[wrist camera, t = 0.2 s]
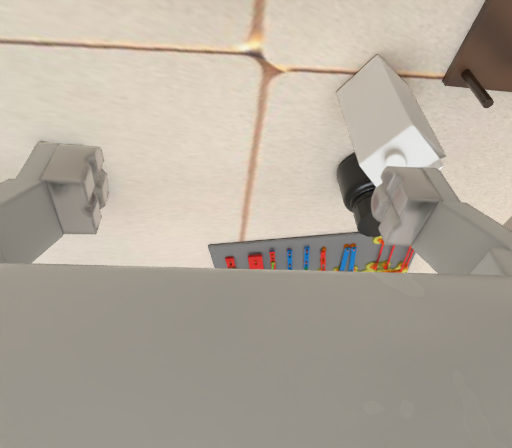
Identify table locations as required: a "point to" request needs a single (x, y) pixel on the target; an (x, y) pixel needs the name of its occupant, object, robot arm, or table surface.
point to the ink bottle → (358, 195)
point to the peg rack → (485, 53)
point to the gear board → (315, 254)
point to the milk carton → (386, 122)
